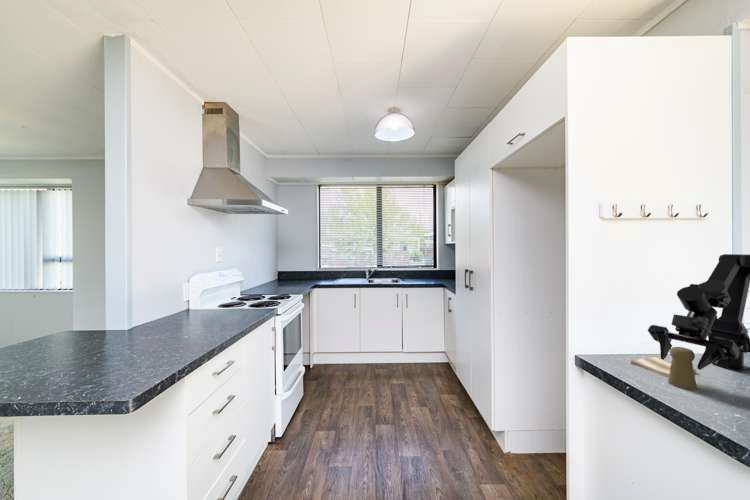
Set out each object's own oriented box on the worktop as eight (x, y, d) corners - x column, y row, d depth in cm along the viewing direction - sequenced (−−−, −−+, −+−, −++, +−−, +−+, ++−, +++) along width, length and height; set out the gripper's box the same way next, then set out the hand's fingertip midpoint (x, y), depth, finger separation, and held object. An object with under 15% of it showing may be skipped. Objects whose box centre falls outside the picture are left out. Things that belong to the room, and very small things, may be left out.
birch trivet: (655, 359, 109) (655, 356, 109) (695, 372, 98) (695, 369, 98) (630, 363, 107) (630, 360, 107) (669, 377, 95) (669, 374, 95)
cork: (703, 390, 87) (703, 352, 86) (678, 389, 88) (677, 351, 88) (686, 381, 93) (685, 345, 92) (662, 379, 94) (662, 344, 94)
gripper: (650, 300, 100) (631, 338, 96) (734, 311, 83) (715, 358, 79) (664, 321, 103) (645, 358, 99) (747, 335, 86) (729, 382, 82)
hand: (679, 363), depth 90 cm, fingers open, 8 cm apart
